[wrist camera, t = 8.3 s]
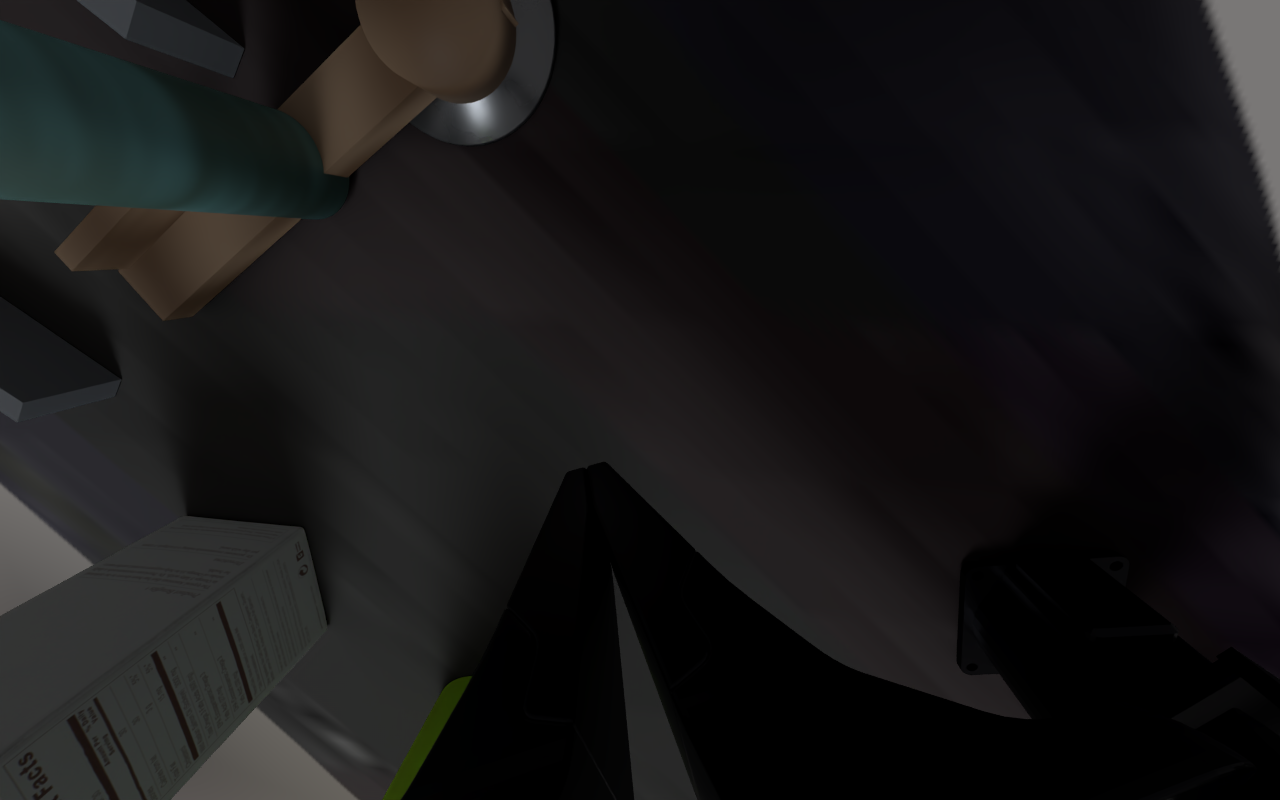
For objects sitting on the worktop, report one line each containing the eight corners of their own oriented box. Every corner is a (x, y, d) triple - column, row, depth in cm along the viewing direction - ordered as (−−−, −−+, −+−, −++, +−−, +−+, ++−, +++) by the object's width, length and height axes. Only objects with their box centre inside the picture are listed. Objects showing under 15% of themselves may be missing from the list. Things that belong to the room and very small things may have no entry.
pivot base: (401, -142, 15) (396, -149, 14) (590, -19, 15) (589, -24, 15) (343, 83, 17) (337, 80, 17) (509, 182, 17) (506, 181, 17)
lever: (463, -83, 15) (-321, -1219, 3) (542, 51, 16) (151, -460, 4) (138, 248, 20) (-626, 256, 8) (213, 334, 21) (-373, 447, 9)
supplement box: (218, 615, 27) (-145, 903, 15) (183, 510, 25) (-283, 757, 13) (333, 630, 27) (48, 942, 15) (309, 524, 24) (-58, 797, 12)
